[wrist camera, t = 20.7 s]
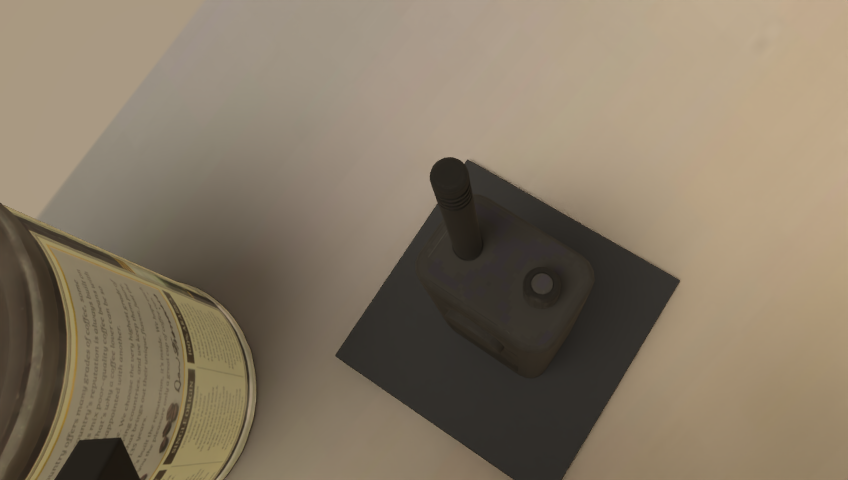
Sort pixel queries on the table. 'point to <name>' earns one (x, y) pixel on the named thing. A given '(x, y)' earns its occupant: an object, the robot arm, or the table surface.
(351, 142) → the table surface
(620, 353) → the mat
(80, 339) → the coffee can
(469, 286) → the walkie-talkie
